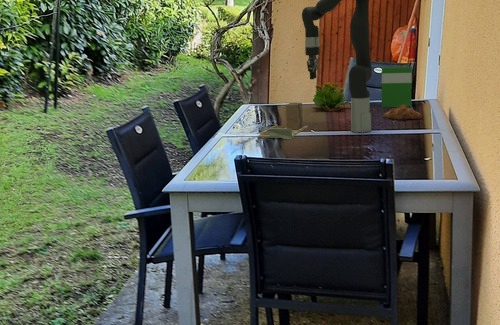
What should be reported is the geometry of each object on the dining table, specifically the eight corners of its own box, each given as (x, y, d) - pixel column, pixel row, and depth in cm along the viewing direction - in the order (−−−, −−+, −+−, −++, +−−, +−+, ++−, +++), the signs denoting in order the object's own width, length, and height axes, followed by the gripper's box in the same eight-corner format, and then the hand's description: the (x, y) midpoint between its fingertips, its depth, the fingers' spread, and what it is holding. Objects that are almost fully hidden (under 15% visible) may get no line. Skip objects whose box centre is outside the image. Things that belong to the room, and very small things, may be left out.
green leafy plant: (352, 106, 385) (352, 78, 381) (354, 112, 363) (354, 83, 358) (312, 107, 388) (312, 80, 384) (312, 113, 365) (312, 84, 361)
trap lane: (276, 127, 326) (275, 118, 325) (308, 128, 319) (307, 119, 318) (257, 138, 302) (256, 128, 301) (291, 139, 295) (291, 129, 294)
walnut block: (291, 126, 321) (291, 102, 318) (302, 127, 319) (301, 102, 316) (286, 129, 314) (285, 104, 311) (297, 130, 312) (297, 105, 309)
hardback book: (411, 105, 377) (411, 66, 372) (411, 107, 370) (411, 67, 365) (382, 105, 382) (382, 67, 376) (381, 107, 375) (381, 68, 369)
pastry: (395, 122, 326) (395, 107, 324) (381, 118, 340) (381, 104, 338) (423, 119, 330) (423, 105, 328) (408, 115, 345) (408, 101, 343)
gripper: (309, 45, 326) (310, 77, 330) (301, 47, 313) (302, 80, 318) (323, 44, 323) (323, 77, 327) (315, 46, 311) (316, 80, 315)
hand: (313, 78), depth 322 cm, fingers open, 3 cm apart
